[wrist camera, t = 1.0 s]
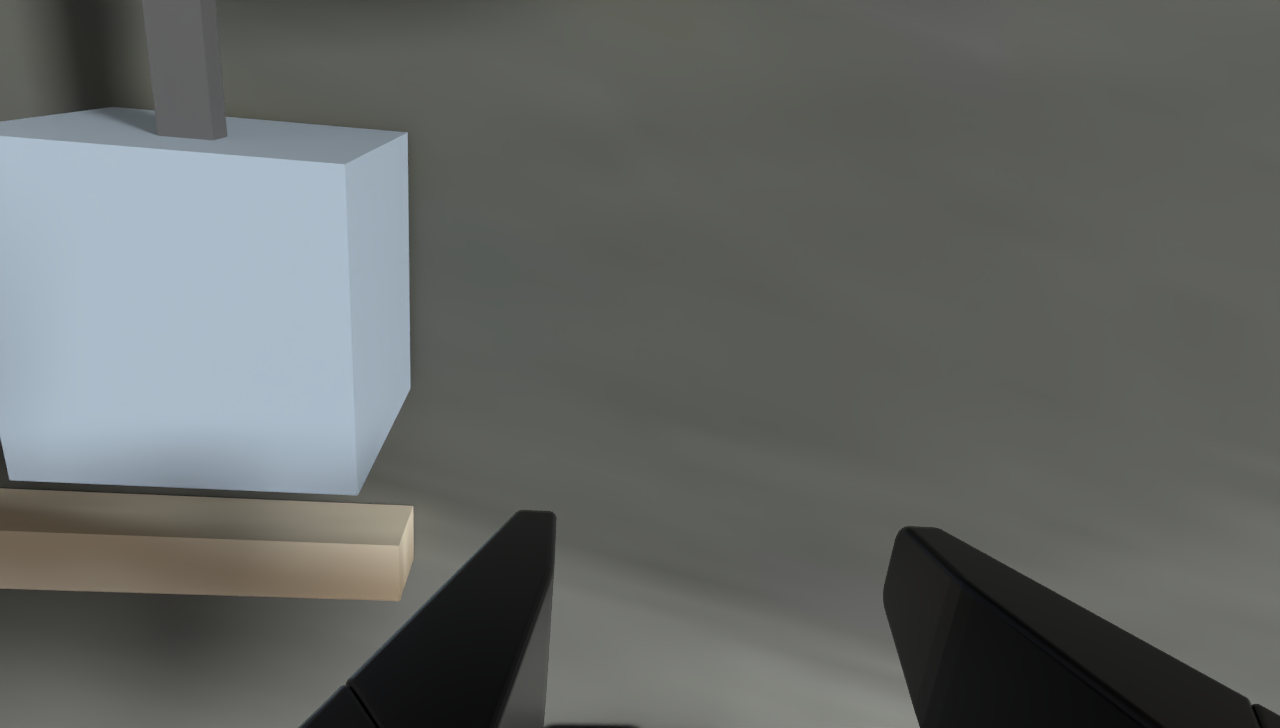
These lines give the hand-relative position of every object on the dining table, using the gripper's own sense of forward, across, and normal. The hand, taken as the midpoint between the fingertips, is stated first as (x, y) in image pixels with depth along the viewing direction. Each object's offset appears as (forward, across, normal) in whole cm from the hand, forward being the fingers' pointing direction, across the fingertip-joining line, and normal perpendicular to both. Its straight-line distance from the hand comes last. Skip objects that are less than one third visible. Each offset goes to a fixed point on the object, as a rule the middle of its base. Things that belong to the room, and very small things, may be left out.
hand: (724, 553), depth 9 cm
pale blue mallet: (+11, +9, -4) cm, 14 cm away
